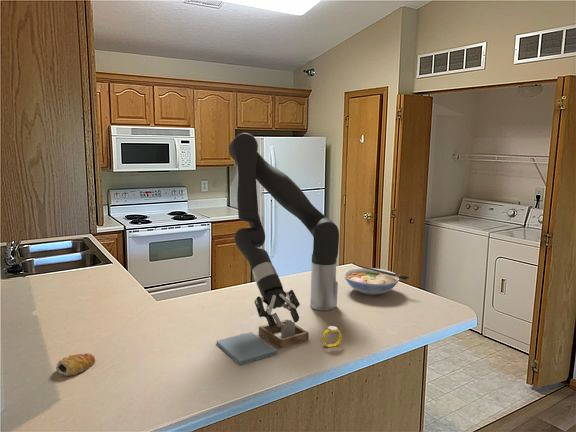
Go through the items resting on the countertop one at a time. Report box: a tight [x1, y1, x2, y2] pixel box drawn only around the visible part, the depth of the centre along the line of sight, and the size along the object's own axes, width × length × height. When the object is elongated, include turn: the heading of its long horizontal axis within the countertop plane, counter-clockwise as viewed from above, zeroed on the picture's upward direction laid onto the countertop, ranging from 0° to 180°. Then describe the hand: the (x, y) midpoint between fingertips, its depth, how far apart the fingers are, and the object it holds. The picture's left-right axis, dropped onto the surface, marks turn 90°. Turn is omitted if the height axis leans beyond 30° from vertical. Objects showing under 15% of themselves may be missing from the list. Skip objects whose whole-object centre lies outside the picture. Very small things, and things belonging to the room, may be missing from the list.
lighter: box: [271, 312, 296, 339], centre depth 138 cm, size 7×2×8 cm, turn 104°
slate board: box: [216, 331, 278, 366], centre depth 130 cm, size 12×15×1 cm
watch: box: [321, 325, 343, 348], centre depth 132 cm, size 6×3×6 cm, turn 107°
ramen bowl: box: [343, 265, 409, 296], centre depth 181 cm, size 25×23×8 cm
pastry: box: [55, 353, 96, 377], centre depth 117 cm, size 9×7×4 cm
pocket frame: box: [258, 319, 310, 349], centre depth 138 cm, size 11×12×2 cm
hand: (285, 324), depth 136 cm, fingers open, 8 cm apart
